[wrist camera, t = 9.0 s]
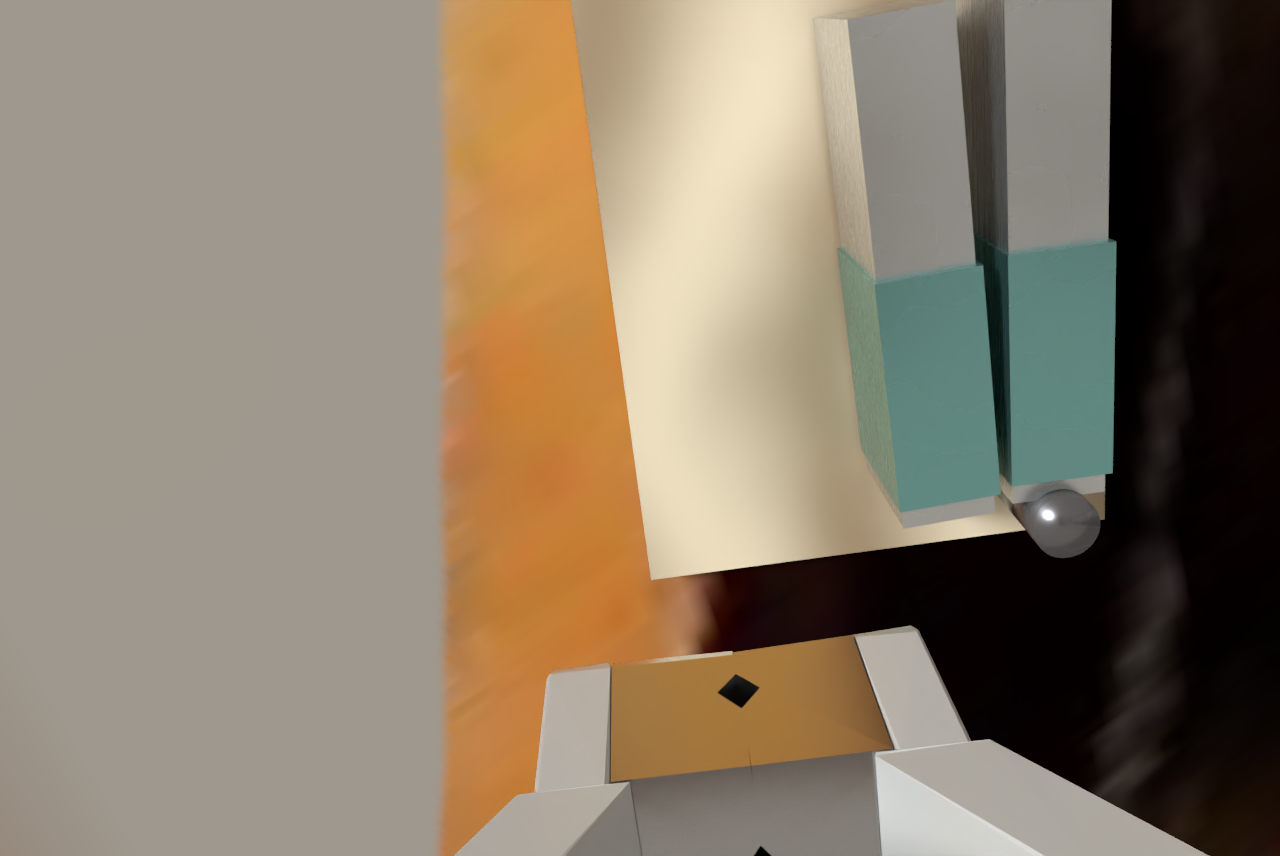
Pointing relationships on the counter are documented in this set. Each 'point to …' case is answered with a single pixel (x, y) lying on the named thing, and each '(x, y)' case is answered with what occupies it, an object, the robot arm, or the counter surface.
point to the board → (733, 285)
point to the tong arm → (910, 257)
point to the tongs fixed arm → (1044, 251)
